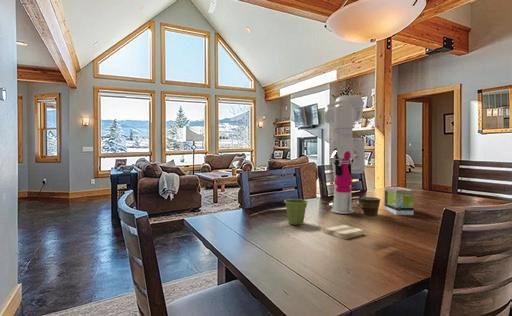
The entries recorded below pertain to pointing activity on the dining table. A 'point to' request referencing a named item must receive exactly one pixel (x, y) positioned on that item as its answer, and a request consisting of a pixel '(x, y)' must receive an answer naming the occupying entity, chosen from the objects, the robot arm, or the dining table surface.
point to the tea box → (399, 200)
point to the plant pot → (295, 210)
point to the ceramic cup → (369, 205)
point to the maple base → (343, 231)
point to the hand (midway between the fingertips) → (343, 174)
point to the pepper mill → (344, 176)
